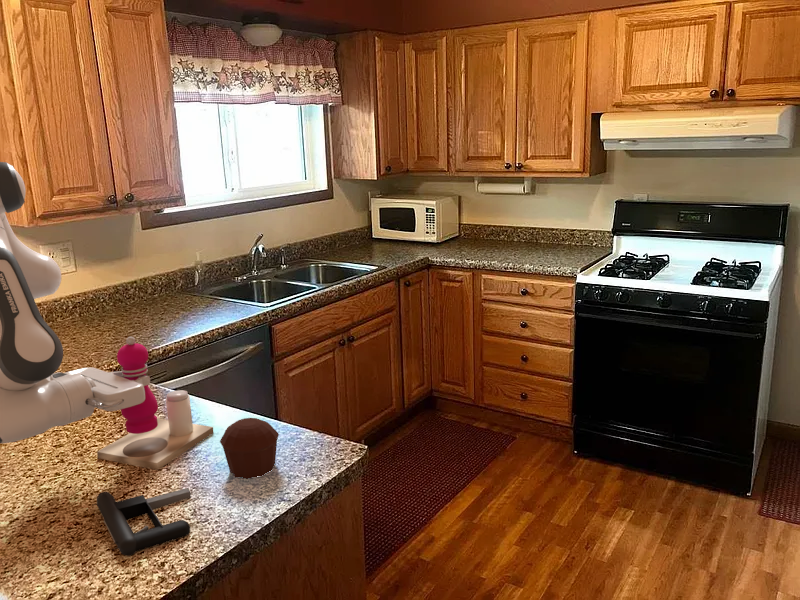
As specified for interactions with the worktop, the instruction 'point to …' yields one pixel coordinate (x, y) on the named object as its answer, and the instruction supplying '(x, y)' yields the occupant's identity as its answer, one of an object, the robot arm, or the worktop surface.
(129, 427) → the pepper mill
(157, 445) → the condiment board
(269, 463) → the muffin
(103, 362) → the worktop surface
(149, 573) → the worktop surface
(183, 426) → the salt shaker
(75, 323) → the worktop surface
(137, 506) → the door handle
